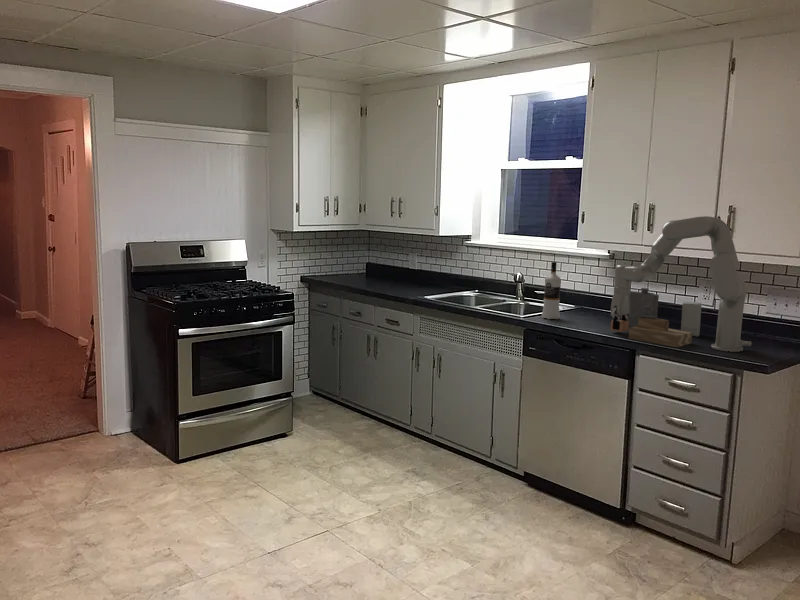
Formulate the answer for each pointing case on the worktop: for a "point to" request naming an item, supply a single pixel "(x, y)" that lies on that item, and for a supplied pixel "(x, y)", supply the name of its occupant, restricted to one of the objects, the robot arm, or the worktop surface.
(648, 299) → the hip flask
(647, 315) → the t-key bolt
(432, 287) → the worktop surface
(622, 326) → the cover cap
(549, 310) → the vodka
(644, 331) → the stepped wooden block
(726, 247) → the robot arm
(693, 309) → the skincare box
